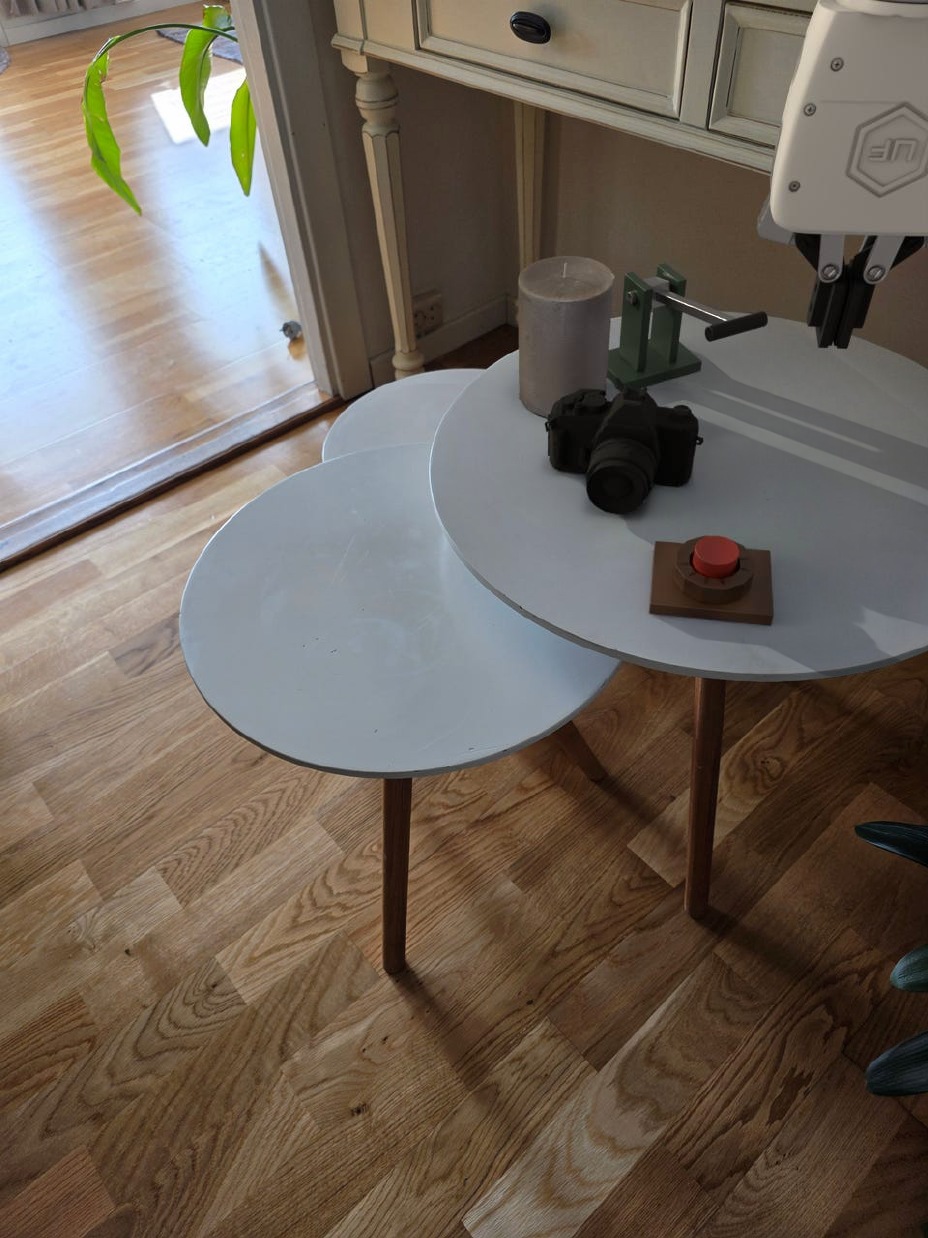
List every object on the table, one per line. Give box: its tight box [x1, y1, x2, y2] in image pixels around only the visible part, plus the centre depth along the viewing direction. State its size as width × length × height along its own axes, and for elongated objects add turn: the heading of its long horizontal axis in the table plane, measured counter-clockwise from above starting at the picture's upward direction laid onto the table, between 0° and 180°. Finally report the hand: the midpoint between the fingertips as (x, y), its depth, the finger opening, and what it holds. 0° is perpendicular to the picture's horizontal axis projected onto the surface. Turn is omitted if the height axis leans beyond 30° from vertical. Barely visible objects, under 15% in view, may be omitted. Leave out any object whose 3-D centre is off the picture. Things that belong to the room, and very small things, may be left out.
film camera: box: [544, 385, 705, 516], centre depth 83 cm, size 15×10×9 cm, turn 73°
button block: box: [648, 534, 775, 626], centre depth 75 cm, size 10×8×3 cm
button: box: [693, 535, 739, 579], centre depth 73 cm, size 4×4×2 cm
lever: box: [642, 276, 769, 343], centre depth 88 cm, size 17×6×2 cm, turn 22°
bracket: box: [607, 262, 703, 393], centre depth 96 cm, size 7×10×11 cm
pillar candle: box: [517, 255, 616, 418], centre depth 92 cm, size 10×10×15 cm
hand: (830, 336), depth 52 cm, fingers closed
